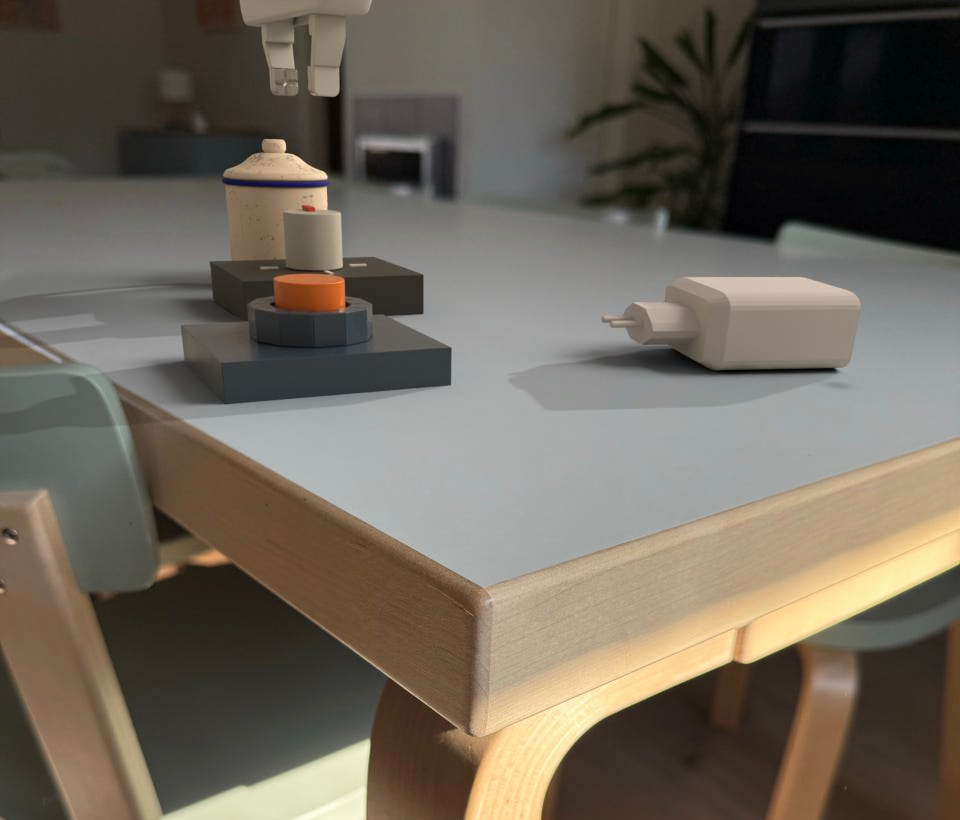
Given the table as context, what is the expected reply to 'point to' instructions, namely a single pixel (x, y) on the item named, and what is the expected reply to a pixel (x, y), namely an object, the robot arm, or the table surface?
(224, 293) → the kettle base
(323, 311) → the switch block
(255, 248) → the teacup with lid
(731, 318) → the charger
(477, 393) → the table surface
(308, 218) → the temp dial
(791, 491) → the table surface
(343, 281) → the power button
